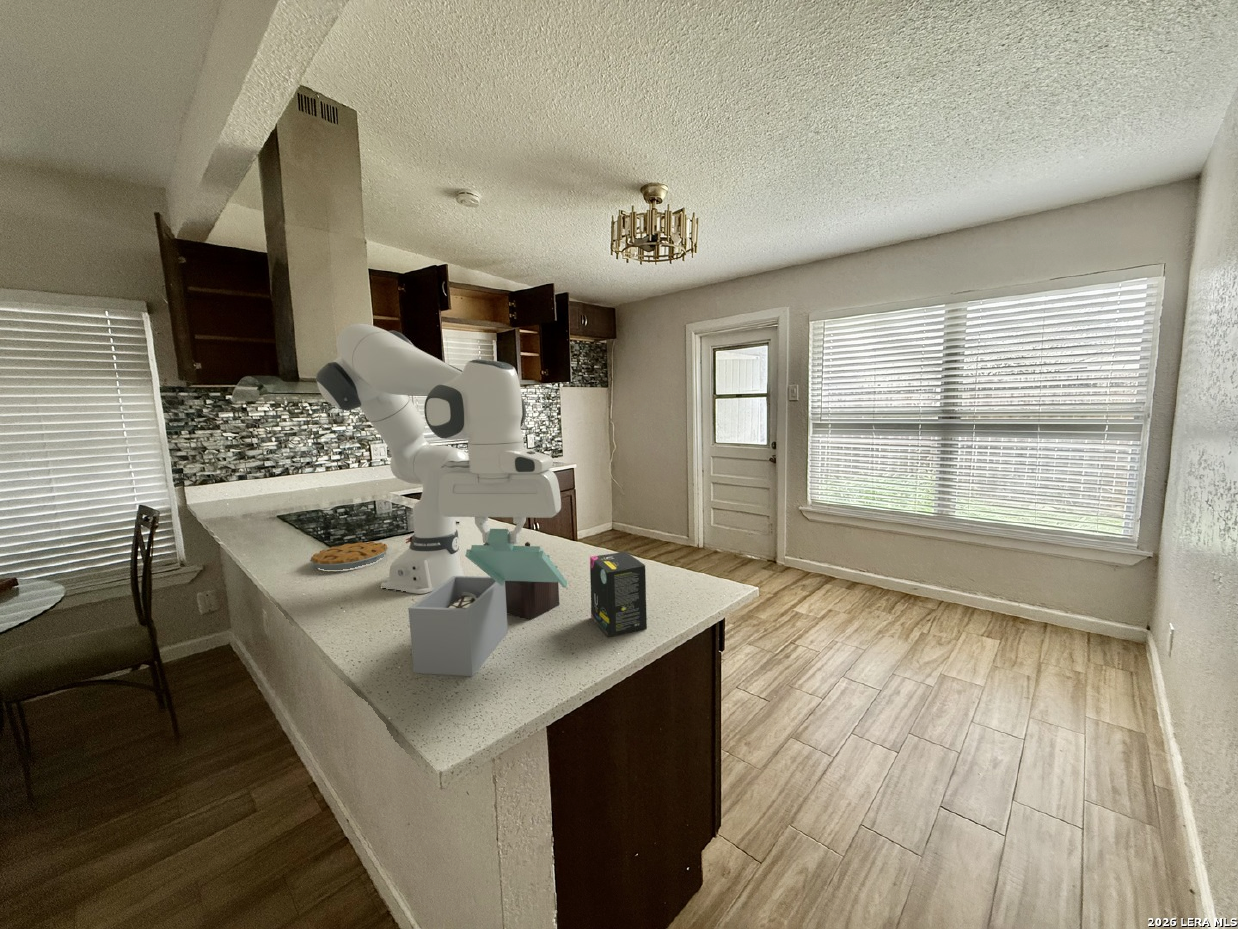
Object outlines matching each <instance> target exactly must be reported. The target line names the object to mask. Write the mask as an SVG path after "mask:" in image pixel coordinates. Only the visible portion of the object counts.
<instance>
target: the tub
mask: <svg viewBox="0 0 1238 929" xmlns="http://www.w3.org/2000/svg"><path fill="white" fill-rule="evenodd" d="M462 592H467V593H471V594H473V595H475V596H476V598H477V599H476V600H475V601H474V602H473V603H472V604H471V605H470V606H468V607H467V608H466V609H464V608H446V607H447V606H448V605H450V604H451V603H454V602H456V601H457V600H459V599H460V598H461V597H462ZM408 620H409V621H408V622H409V631H410V632H409V633H410V645H411V656H412V667H413V668H412V669H413V673H414V674H427V675H428V674H429V675H443V676H445V675H447V676H459V677H460V676H461V677H474V675H475V674H476V673H477V672H478V671H479V670H480V668H481V667H482V666H483V665H484V663H485V662H486V661H487V659H488V658H489V657H490V656H491V654H492V653H493V652H494V651H495V650H496V648H497V647H498V646H499V644H500V643H501V642H502V641H503V640H504V638H505V637H506V636H507V635H508V633H509V631H508V630H509V628H508V614H507V610H506V592H505V582H504V586H502V585H500V584H499V583H497V582H496V581H495V580H494V579H493V578H491V577H490V576H474V575H465V576H453V577H451V578H450V579H449V580H447V581H446V582H444V583H443V584H442V585H440V586H439V587H437V588H436V589H435V590H433V591H430V592H428V593H427V594H426V595H425V596H424V597H422V598H420V599H419V600H418V601H417V602H414V603H413V604H412V605H411V606H409V607H408Z"/></svg>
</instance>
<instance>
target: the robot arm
mask: <svg viewBox="0 0 1238 929" xmlns="http://www.w3.org/2000/svg"><path fill="white" fill-rule="evenodd" d="M336 350H337V352H338V353H337V354H338V355H339V356H338V357H337V358H335V359H334V360H332V362H327V363H326V364H325V365H324V366H323V367H321V368H320V370H319V371H317V374H316V377H315V382H316V385H317V388H318V390H319V393H320V395H321V396H322V397H323V398H324V399H325V400H326V401H327V403H329V404H331V405H332V406H334V407H336V408H337V409H339V410H340V411H341V410H342V411H346V412H349V411H352V410H356V409H358V408H359V409H360V410H361V412H362V413H363V414H364V416H365V417H366V419H367V420H368V421H369V423H371V425H372V427H373V428H374V429H375V430H376V433H378V434H379V436H380V437H381V439H382V440H383V441H384V442H385V444H386V446H387V448H388V450H389V453H390V455H391V458H390V461H389V463H390V464H389V465H390V466H389V467H390V472H392V474H393V476H394V477H395V478H396V479H399V480H401V481H403V482H406V483H409V484H411V485H412V484H414V485H415V484H416V485H422V492H421V495H420V498H419V501H417V502H416V503H415V504H414V506H413V508H412V522H413V524H412V525H413V535H411V536H409V537H408V538H407V539H405V541H406V542H405V544H408V543H409V546H408V548H407V549H406V550H405V551H404V552H403V553H402V554H400V555H399V556H398V557H397V558H395V560H393V562H392V563H391V565H390V566H389V574H388V577H387V578H385V579H384V580H383V581H382V582H381V583H380V588H381V587H382V588H386V589H385V590H388V589H397V590H401V591H400V592H403V591H406V592H405V593H411V594H419V595H422V594H428V593H430V592H432V591H433V590H435V589H436V588H437V587H439V586H440V585H442V584H443V583H444V582H446V581H447V580H449V579H450V578H451V577H453V576H466V575H465V572H464V569H463V565H462V563H461V562H462V561H461V558H460V553H459V550H460V549H459V548H460V544H459V543H460V542H459V540H460V539H459V531H458V529H457V525H456V524H457V520H456V518H474V524H475V525H476V527H477V529H478V531H480V533H481V536H482V543H483V544H485V543H487V541H488V536H489V532H490V529H491V528H490V527H489V525H488V523H487V521H488V520H489V518H512V519H513V520H512V522H513V524H515V525H516V526H515V527H514V529H513V530H511V531H510V533H508V538H509V539H508V543H510V544H514V545H515V544H519V543H520V542H521V531H522V529H523V527H524V525H525V523H526V522H527V518H533V519H534V518H536V519H537V518H542V519H543V518H545V519H547V518H554V517H555V516H556V515H558V513H559V512H560V511H561V509H562V500H561V498H562V497H561V490H560V484H559V479H558V477H557V475H556V473H555V472H553V471H552V470H551V469H552V468H553V466H554V459H553V457H552V456H551V455H549V454H545V453H542V452H540V451H539V452H538V451H535V450H532V449H529V448H526V447H525V441H524V436H523V433H522V427H523V425H524V423H525V420H526V416H527V406H526V403H525V400H524V398H523V396H522V391H521V384H520V379H519V375H518V373H517V370H516V368H515V367H514V366H513V365H511V363H508V362H504V361H499V360H498V361H496V360H490V359H478V358H477V359H472V360H469V361H467V362H466V363H465V366H464V368H463V369H460V368H458V367H456V366H453V365H451V364H448V363H447V362H445V361H443V360H441V359H438V358H437V357H435V356H433V355H431V354H429V353H428V352H425V351H423V350H421V349H419V348H418V347H416V346H415V345H414V344H413V343H412V342H411V340H409V339H408V338H407V337H406V336H405V335H404V334H403V333H401V332H400V331H399V332H398V331H396V330H393V329H392V330H386V329H383V328H380V327H378V326H376V325H371V324H366V323H353V324H350V325H347V326H346V327H345V328H343V329H342V330H341V331H340V333H339V334H338V336H337V339H336ZM409 396H426V398H425V401H424V406H423V407H424V408H423V410H424V418H423V416H422V414H421V413H420V412H419V410H418V408H417V407H416V405H415V404H414V403H413V401H412V400H411V399H410V397H409ZM426 423H427V426H428V428H429V430H431V432H433V434H434V435H436V436H437V437H438V438H440V439H445V440H453V441H456V440H467V452H468V453H467V452H466V451H465V450H463V449H460V448H458V447H454V446H449V445H432V444H430V443H429V442H428V441H427V439H426V438H425V435H424V431H425V428H426ZM382 588H381V589H382Z"/></svg>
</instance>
